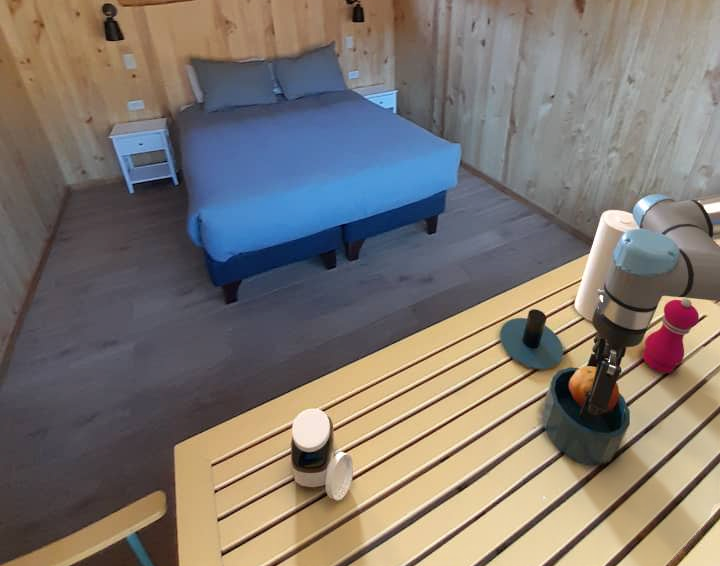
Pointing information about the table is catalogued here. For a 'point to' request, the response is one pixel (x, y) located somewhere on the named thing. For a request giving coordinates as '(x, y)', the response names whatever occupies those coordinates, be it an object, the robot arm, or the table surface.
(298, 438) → the spread jar
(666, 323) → the pepper mill
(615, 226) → the cylinder container
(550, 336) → the lid
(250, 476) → the table surface
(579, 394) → the fruit
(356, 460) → the table surface
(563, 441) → the pot
